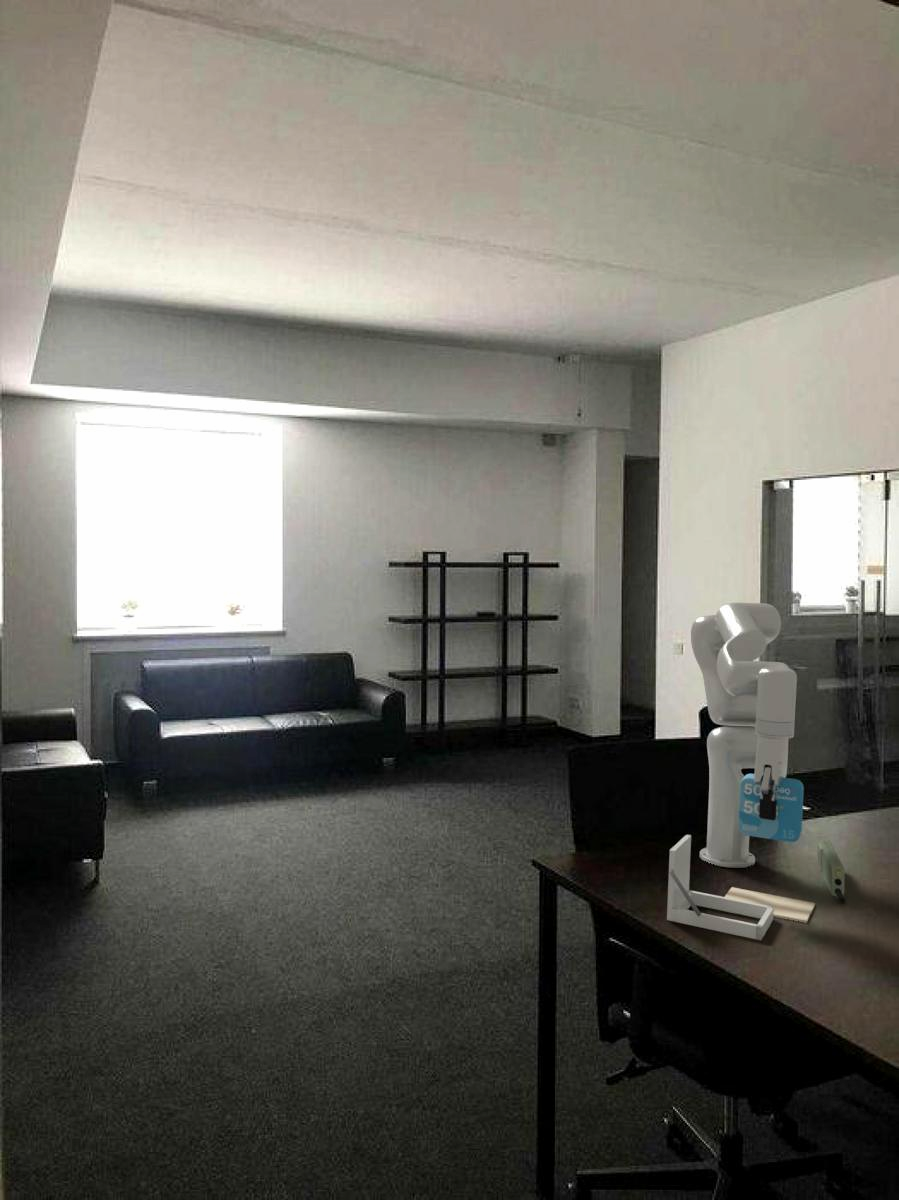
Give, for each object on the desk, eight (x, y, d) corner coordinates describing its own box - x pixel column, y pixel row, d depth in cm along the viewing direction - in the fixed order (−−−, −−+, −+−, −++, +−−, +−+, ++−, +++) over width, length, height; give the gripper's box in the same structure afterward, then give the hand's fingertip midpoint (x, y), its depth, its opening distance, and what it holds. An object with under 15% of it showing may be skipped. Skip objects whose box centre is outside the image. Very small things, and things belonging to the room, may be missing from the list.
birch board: (731, 889, 207) (731, 887, 207) (815, 905, 199) (815, 903, 199) (719, 905, 197) (719, 903, 197) (806, 923, 189) (806, 920, 189)
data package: (737, 834, 198) (740, 777, 197) (740, 828, 202) (743, 772, 201) (799, 843, 193) (802, 785, 192) (801, 837, 197) (804, 779, 196)
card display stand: (683, 900, 200) (686, 834, 199) (773, 919, 191) (776, 850, 190) (665, 921, 188) (668, 851, 187) (760, 942, 180) (763, 868, 179)
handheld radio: (832, 868, 223) (851, 907, 199) (817, 867, 224) (834, 906, 200) (832, 840, 223) (851, 875, 199) (817, 839, 224) (834, 874, 199)
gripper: (764, 719, 205) (760, 802, 206) (746, 732, 190) (742, 822, 192) (801, 723, 201) (796, 808, 203) (785, 737, 187) (781, 829, 188)
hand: (770, 814), depth 197 cm, fingers closed on data package, 4 cm apart
